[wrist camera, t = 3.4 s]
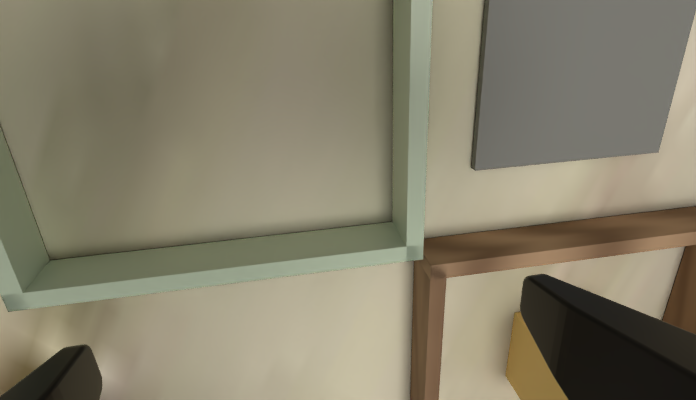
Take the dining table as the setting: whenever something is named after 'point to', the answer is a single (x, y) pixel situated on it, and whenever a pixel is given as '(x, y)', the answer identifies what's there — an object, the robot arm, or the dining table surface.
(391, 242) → the sage tray
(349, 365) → the dining table surface
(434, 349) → the walnut tray
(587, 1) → the rubber mat
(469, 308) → the dining table surface
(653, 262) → the dining table surface
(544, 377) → the letter block
